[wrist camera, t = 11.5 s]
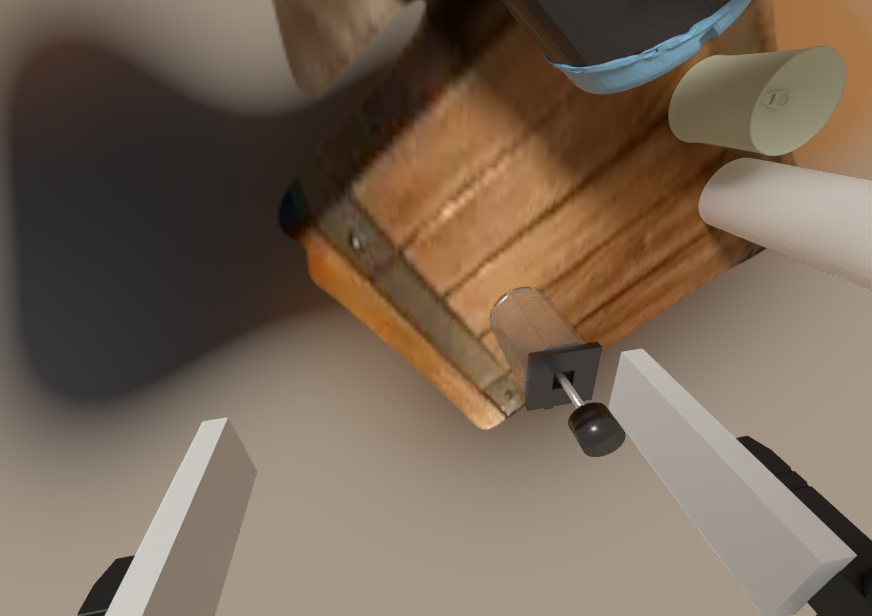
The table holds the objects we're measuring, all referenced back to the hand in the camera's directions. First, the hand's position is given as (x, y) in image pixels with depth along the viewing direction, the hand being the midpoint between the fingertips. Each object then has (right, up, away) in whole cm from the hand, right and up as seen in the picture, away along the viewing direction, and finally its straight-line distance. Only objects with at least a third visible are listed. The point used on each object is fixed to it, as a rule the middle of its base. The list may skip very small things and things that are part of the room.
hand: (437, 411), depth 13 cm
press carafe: (+13, +1, +45) cm, 47 cm away
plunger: (+14, 0, +41) cm, 43 cm away
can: (+32, +29, +32) cm, 54 cm away
